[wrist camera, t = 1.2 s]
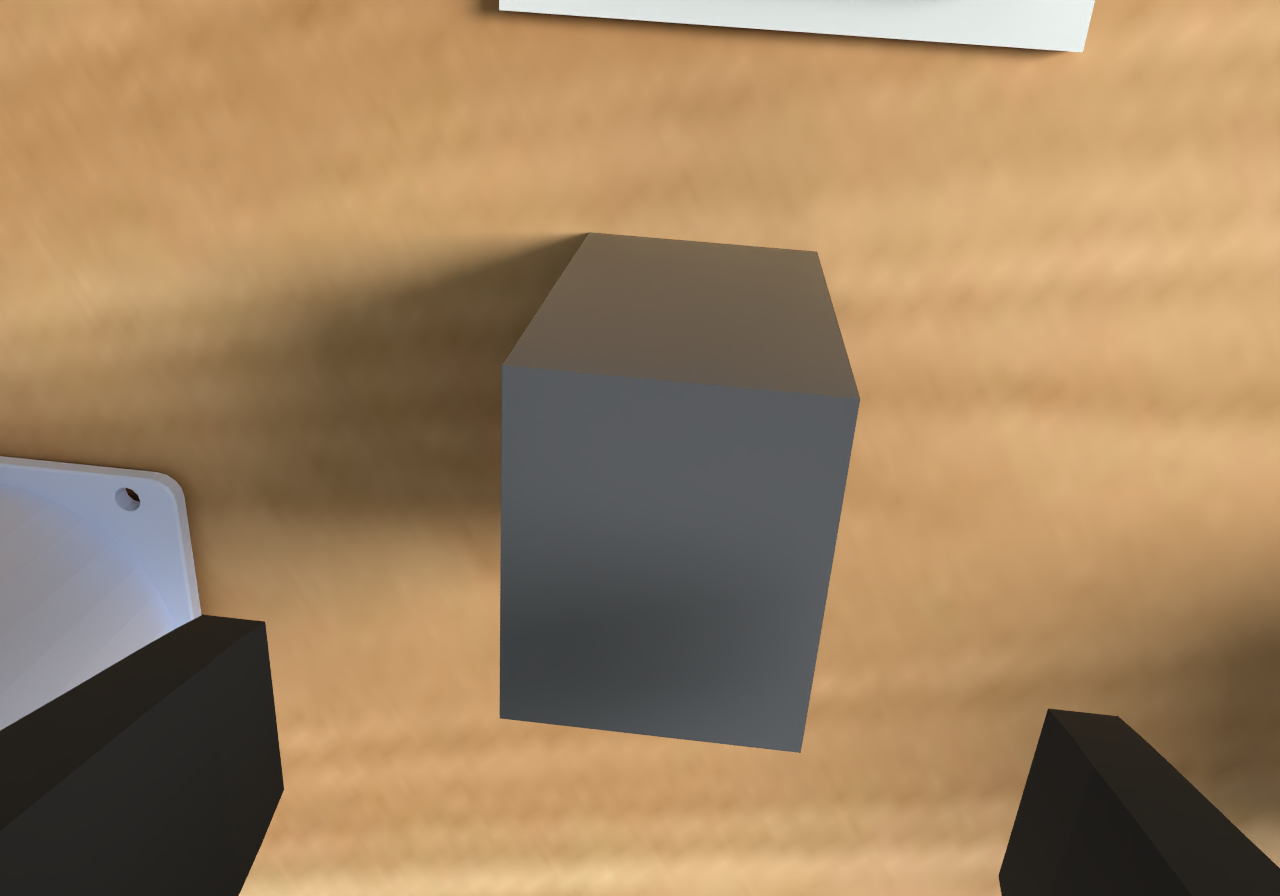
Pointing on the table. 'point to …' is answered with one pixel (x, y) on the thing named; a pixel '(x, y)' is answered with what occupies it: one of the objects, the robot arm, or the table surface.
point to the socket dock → (860, 17)
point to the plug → (673, 491)
